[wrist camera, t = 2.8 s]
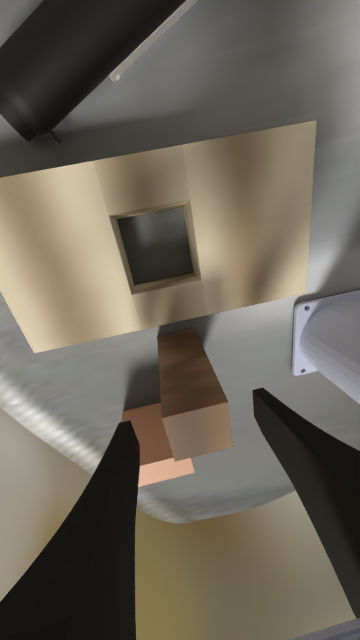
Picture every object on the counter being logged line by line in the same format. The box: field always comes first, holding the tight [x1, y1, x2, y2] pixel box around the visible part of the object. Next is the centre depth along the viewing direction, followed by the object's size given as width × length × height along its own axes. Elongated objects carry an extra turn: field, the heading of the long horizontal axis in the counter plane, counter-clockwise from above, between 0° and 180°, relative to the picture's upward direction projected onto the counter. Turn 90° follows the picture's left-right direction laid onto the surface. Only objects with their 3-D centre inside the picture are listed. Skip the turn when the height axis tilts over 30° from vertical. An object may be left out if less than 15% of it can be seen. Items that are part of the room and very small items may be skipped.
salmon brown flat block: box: [121, 402, 195, 487], centre depth 19 cm, size 6×2×6 cm, turn 100°
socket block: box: [0, 120, 317, 353], centre depth 14 cm, size 20×10×3 cm, turn 100°
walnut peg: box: [157, 328, 234, 462], centre depth 15 cm, size 3×3×9 cm
